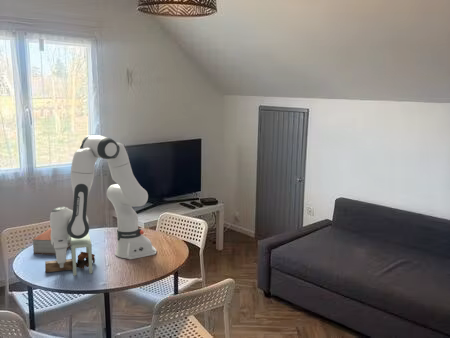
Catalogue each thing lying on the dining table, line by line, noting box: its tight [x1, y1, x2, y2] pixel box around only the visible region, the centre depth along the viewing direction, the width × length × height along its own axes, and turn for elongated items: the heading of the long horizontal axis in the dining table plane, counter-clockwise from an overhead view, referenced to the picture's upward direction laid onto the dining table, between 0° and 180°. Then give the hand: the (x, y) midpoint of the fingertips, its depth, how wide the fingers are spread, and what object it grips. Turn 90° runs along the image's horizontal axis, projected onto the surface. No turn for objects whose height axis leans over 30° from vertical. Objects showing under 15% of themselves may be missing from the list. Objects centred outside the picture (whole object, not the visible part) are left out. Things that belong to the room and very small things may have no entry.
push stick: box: [44, 258, 73, 273], centre depth 213 cm, size 14×6×4 cm, turn 114°
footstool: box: [70, 231, 94, 277], centre depth 216 cm, size 9×19×16 cm, turn 22°
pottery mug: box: [76, 251, 96, 270], centre depth 218 cm, size 12×9×8 cm
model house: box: [32, 227, 71, 256], centre depth 244 cm, size 24×16×15 cm, turn 176°
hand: (61, 265), depth 213 cm, fingers closed on push stick, 3 cm apart
